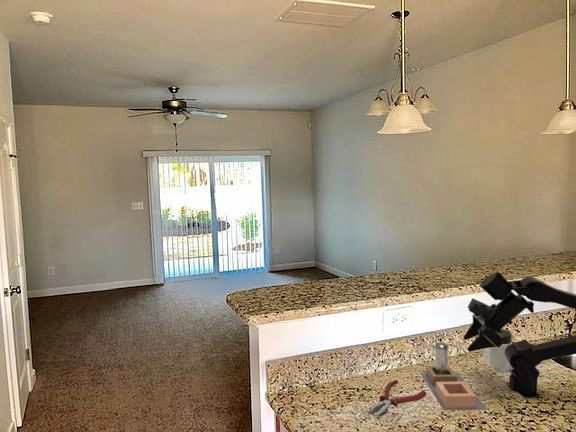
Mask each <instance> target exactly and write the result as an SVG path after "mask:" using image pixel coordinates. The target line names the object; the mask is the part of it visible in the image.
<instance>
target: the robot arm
mask: <svg viewBox="0 0 576 432" xmlns="http://www.w3.org/2000/svg"><path fill="white" fill-rule="evenodd" d="M479 286H480V288H481V289H482V290H484V292H486V294H488V295H489V297H491V298H492V299H493V300H494V301H499V302H498V303H497V304H496V303H492V304H491V305H488V304H486V303H484V302H482V301H480V300H478V299H475V298H471V300H470V302H469V304H468V306H467V308H468V312H470V313H472V323H471V325H470V326H469V328H468V329H467V330H466V332H465V334H464V336H463V339H464V340H465V341H466V340H469V339H472V338H475V339H473V341H472V342H471V343H470V344H469V346H468V347H467V348H466V350H467V351H468V352H469V353H471V352H475V351H480V350H483V349H485V348H490V347H494V348H495V347H496V346H497V347H498V348H499V347H500V346H501V345H502V344H503V338H502V336H501V334H500V333H501V332H502V331H501V329H503V328H504V327H505V326H507V325H508V324H509V326H510V325H512V324H513V319H515V318H516V317H517V316H519V315H520V314H521V313H523V311H525V310H526V309H527V310H528V311H529V312H530V313H532V314H534V313H535V312H534V311H535V310H534V306H535V304H534V302H538V303H552V304H553V303H554V304H557V305H561V306H564V307H567V308H570V309H574V310H576V293H572V292H569V291H566V290H562V289H560V288H556V287H553V286H551V285H549V284H548V283H546V282H544V281H542V280H540V279H538V278H536V277H533V276H526V277H525V276H524V277H523V278H522V279H520V280H519V279H518V280H509V281H508V279H506V278H505V277H504V276H503V274H502V273H501V272H500V271H498V270H496V271H495V272H494V273H492V274H489V275H488V276H486V277H484V279H483V280H481V282H480V285H479ZM513 291H514V292H515V293H516V294H515V293H514V292H513ZM525 297H526V298H527V299H526V298H525ZM575 354H576V335H572V336H567V337H564V338H559V339H554V340H550V341H545V342H542V343H537V344H534V343H533V344H532V343H529V341H528V340H527V339H522V340H519V341H512V344H511V345H508V346H507V348H506V349H505V357H506V359H507V360H508V362H509V364H510V365H511V367H512V369H510V371H511V372H510V375H509V376H508V377H509V380H508V388H509V389H510V390H511V391H513V392H516V393H518V394H520V396H522V397H523V398H536V397H537V398H540V396H541V394H540V393H539V392H538V379H539V377H540V374H541V372H540V371H539V369H537V366H538V365H540V364H541V363H542V362H544V361H548V360H552V359H557V358H562V357H566V356H570V355H575Z"/></svg>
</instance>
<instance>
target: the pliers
mask: <svg viewBox="0 0 576 432" xmlns="http://www.w3.org/2000/svg"><path fill="white" fill-rule="evenodd" d="M397 384H399V380H397V379H395V380H392V381H390V382H388V383H387V385H386V386H385V388H384V394H383V395H380V396H379V402H378V403H376V404H375V405H374V406H373V407H371V409H370V410H368V411H367V413H368V414H371V413H375V412H377V414H376V416H375V417H377V418H378V417H379V416H381V415H384V413H387V412H389V407H390V406H392V405H393V406H394V407H395V408H396V407H398V405H400V404H406V403H410V402H411V403H412V402H417V401H420V400H423V398H424V397H426V396H427V392H426V390H423V389H422V390H421V391H420V392H419V393H417V394H414V395H408V396H400V397H395V398H393V397H392V398H390V390H391V389H392V387H394V386H395V385H397ZM389 398H390V399H389Z"/></svg>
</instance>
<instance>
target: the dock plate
mask: <svg viewBox="0 0 576 432" xmlns="http://www.w3.org/2000/svg"><path fill="white" fill-rule="evenodd" d="M420 375H421V377H422V379H424V381H425V383H426V384H427V387H428V388H429V389H430V391H431V393H432V394H433V396H434V398H435V399H436V401H437V402H438V404H439V405H440V407H441V409H442V411H482V410H483V411H487V410H488V408H487V407H486V406H485V404H484V403H483V402H482V401H481V400H480V398H479V397H478V396H477V395H476V393H475V392H474V391H473V393H474V394H475V395H476V408H448V409H445V407H444V406H443V404H442V402H441V401H440V399H439V398H438V396H437V395H436V382H455V381H465V379H464V378H463V377H462V376H461V375H460V374H459V372H454V370H453V369H452V367H450V366H449V365H447V375H436V374H435V365H426V366H425V372H420ZM465 383H466V384H467V382H466V381H465ZM469 388H470V389H471V387H470V386H469ZM471 390H472V389H471Z"/></svg>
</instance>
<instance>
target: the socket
mask: <svg viewBox="0 0 576 432" xmlns="http://www.w3.org/2000/svg"><path fill="white" fill-rule="evenodd" d="M465 382H466V381H465V380H464V381H455V382H436V395H437V396H438V398H439V399H440V401H441V402H442V404H443V406H444V407H445V409H448V408H476V396H477V394H476V393H475V392H474V391H473V389H470V388H471V387H470V385H468V384H467V382H466V383H465ZM469 387H470V388H469ZM473 392H474V393H475V394H474V393H473Z"/></svg>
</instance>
